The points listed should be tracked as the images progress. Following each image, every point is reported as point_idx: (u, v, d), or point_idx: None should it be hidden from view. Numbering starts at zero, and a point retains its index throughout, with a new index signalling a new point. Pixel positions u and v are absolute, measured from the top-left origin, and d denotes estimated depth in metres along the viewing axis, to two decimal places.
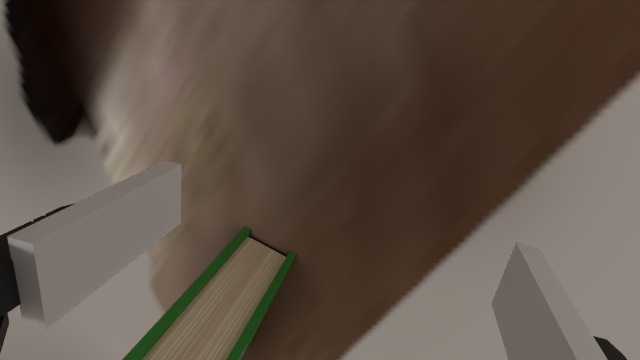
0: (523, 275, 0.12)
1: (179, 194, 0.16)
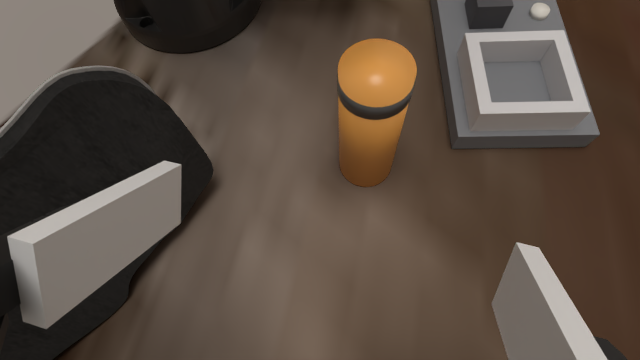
0: (524, 275, 0.12)
1: (179, 194, 0.16)
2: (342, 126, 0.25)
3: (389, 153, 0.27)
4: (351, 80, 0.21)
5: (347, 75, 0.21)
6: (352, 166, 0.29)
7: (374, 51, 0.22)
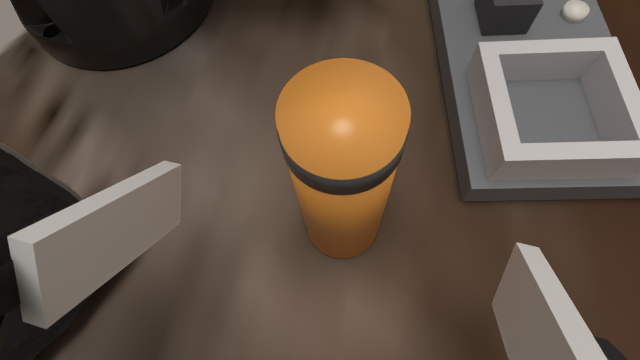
0: (523, 275, 0.12)
1: (179, 194, 0.16)
2: (296, 192, 0.16)
3: (372, 225, 0.18)
4: (297, 133, 0.12)
5: (290, 123, 0.12)
6: (320, 239, 0.20)
7: (338, 80, 0.13)
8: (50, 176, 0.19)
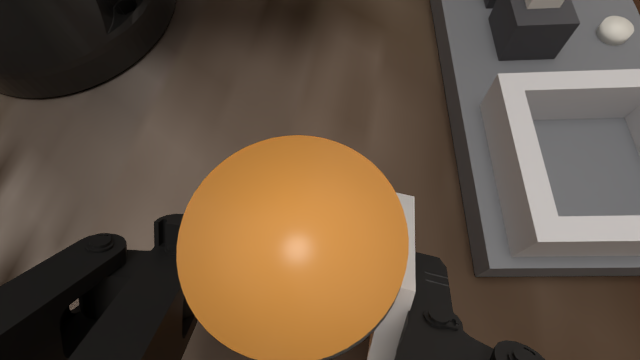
0: None
1: None
2: None
3: None
4: (210, 278, 0.07)
5: (201, 259, 0.07)
6: None
7: (288, 176, 0.08)
8: None
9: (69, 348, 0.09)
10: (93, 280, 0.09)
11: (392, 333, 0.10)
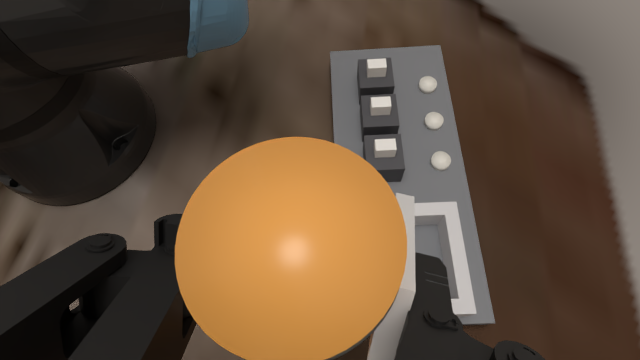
0: None
1: None
2: None
3: None
4: (209, 280, 0.07)
5: (200, 261, 0.07)
6: None
7: (287, 178, 0.08)
8: None
9: (69, 348, 0.09)
10: (93, 280, 0.09)
11: (392, 333, 0.10)
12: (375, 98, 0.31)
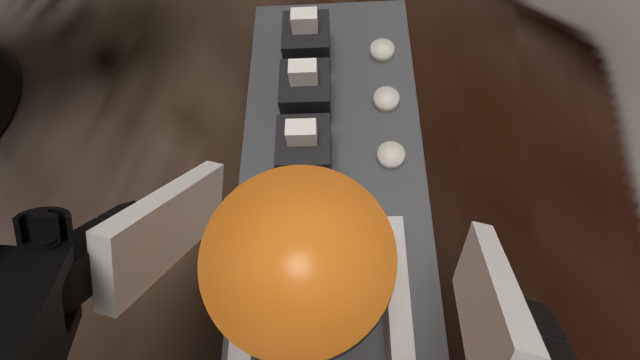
0: (475, 249, 0.13)
1: (220, 192, 0.16)
2: None
3: None
4: (227, 291, 0.08)
5: (219, 274, 0.08)
6: None
7: (294, 201, 0.09)
8: None
9: None
10: None
11: None
12: (294, 60, 0.21)
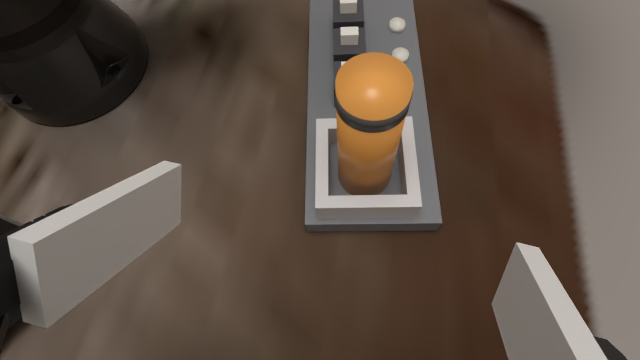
0: (523, 275, 0.12)
1: (179, 194, 0.16)
2: (340, 139, 0.25)
3: (387, 165, 0.27)
4: (348, 94, 0.21)
5: (344, 89, 0.21)
6: (351, 178, 0.29)
7: (371, 65, 0.22)
8: (5, 218, 0.28)
9: None
10: None
11: None
12: (344, 28, 0.34)
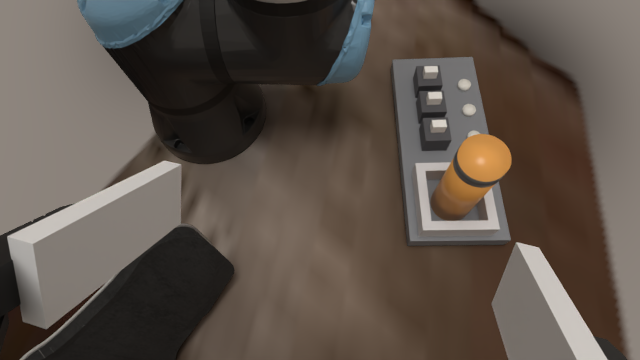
0: (524, 275, 0.12)
1: (179, 194, 0.16)
2: (450, 186, 0.37)
3: (478, 201, 0.39)
4: (469, 164, 0.33)
5: (466, 161, 0.33)
6: (448, 209, 0.40)
7: (481, 143, 0.33)
8: (206, 238, 0.40)
9: None
10: None
11: None
12: (431, 93, 0.46)
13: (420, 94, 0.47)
